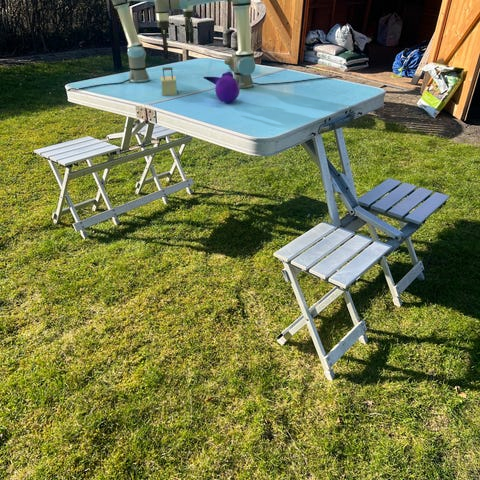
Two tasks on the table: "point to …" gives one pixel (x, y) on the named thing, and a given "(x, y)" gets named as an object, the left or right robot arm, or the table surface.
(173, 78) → the beige boxy piece
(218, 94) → the toy
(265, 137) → the table surface
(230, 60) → the teapot
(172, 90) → the chest
